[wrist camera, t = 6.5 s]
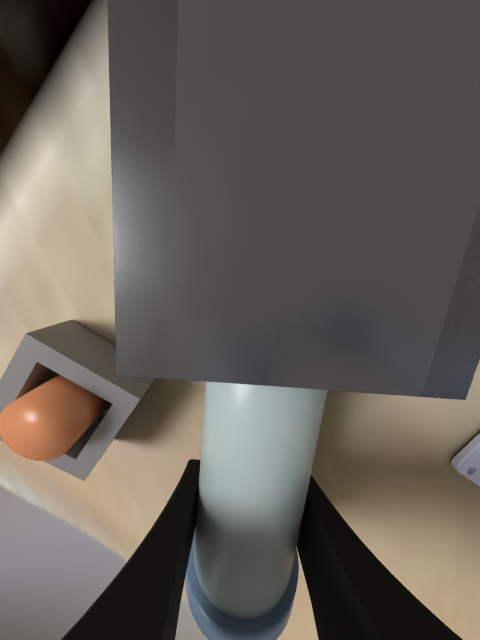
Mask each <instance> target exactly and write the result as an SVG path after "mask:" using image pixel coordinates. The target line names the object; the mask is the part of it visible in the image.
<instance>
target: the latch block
mask: <svg viewBox="0 0 480 640" xmlns="http://www.w3.org/2000/svg"><path fill="white" fill-rule="evenodd" d="M58 374H60V375H62V376H63V377H65V378H67V379H69V380H71V381H72V382H74V383H76V384H78V385H79V386H81V387H83V388H85V389H87V390H88V391H90V392H92V393H94V394H96V395H97V396H99V397H101V398H103V399H105V400H106V401H108V402H110V403H112V406H111V407H110V409H109V410H108V412H107V413H106V415H105V416H104V418H103V419H100V418H99V417H98V418H97V419H96V420H95V421H94V422H93V424H92V425H91V426H90V427H89V428H88V429H87V430H86V431H85V432H84V433H83V435H82V436H81V437H80V438H79V439H78V440H77V441H76V442H75V443H74V444H73V445H72V447H71V448H70V449H69V450H68V451H67V452H66V453H65V454H63V455H62V456H60V457H58V458H56V459H53V460H47V461H44V462H46V463H49V464H51V465H53V466H55V467H57V468H59V469H61V470H63V471H65V472H67V473H69V474H71V475H73V476H75V477H77V478H79V479H81V480H83V481H85V479H86V478H87V476H88V475H89V473H90V472H91V471H92V469H93V468H94V466H95V465H96V464H97V462H98V461H99V459H100V458H101V456H102V455H103V454H104V452H105V451H106V449H107V448H108V446H109V445H110V444H111V442H112V441H113V439H114V438H115V436H116V435H117V434H118V432H119V431H120V429H121V428H122V426H123V425H124V423H125V422H126V420H127V419H128V418H129V416H130V415H131V413H132V412H133V410H134V409H135V407H136V406H137V404H138V403H139V402H140V400H141V399H142V397H143V396H144V394H145V393H146V391H147V390H148V388H149V387H150V386H151V384H152V383H153V381H154V380H155V378H149V377H135V376H121V375H117V373H116V346H115V345H113V344H111V343H110V342H108V341H106V340H105V339H103V338H101V337H100V336H98V335H96V334H95V333H93V332H91V331H90V330H88V329H86V328H85V327H83V326H81V325H80V324H78V323H76V322H75V321H73V320H69V321H66V322H62V323H59V324H56V325H53V326H49V327H46V328H43V329H39V330H36V331H33V332H29V333H26V334H25V336H24V338H23V340H22V341H21V343H20V345H19V347H18V349H17V351H16V352H15V354H14V356H13V358H12V360H11V362H10V363H9V365H8V367H7V369H6V371H5V373H4V374H3V376H2V378H1V380H0V414H1V412H2V411H3V409H4V408H5V407H6V406H7V405H9V404H10V403H12V402H13V401H15V400H17V399H18V398H20V397H22V396H23V395H25V394H27V393H28V392H30V391H32V390H33V389H35V388H37V387H38V386H40V385H42V384H43V383H45V382H47V381H48V380H50V379H52V378H53V377H55V376H57V375H58ZM0 440H1V441H3V439H2V438H1V436H0ZM3 442H4V441H3Z"/></svg>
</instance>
